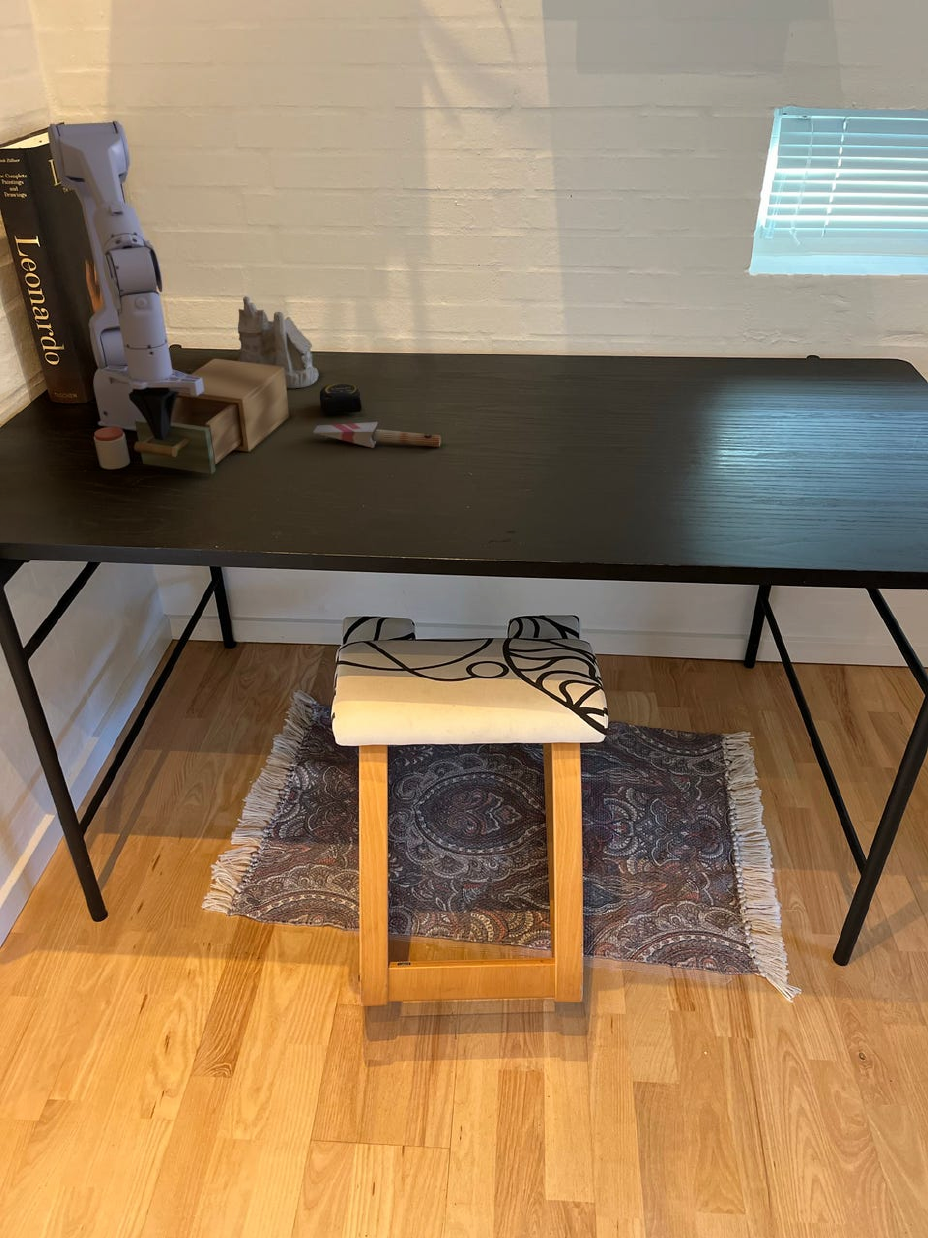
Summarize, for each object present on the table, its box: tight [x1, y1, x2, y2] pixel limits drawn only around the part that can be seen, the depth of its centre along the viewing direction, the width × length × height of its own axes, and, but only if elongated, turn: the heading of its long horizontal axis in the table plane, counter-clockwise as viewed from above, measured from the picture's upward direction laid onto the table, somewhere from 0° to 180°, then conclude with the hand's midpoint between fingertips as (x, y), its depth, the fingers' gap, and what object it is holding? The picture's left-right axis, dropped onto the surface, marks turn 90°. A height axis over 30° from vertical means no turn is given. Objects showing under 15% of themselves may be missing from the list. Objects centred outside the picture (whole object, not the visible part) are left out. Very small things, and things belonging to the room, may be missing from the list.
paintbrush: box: [312, 421, 442, 449], centre depth 149 cm, size 4×3×20 cm
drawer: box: [133, 396, 243, 475], centre depth 141 cm, size 18×11×7 cm, turn 164°
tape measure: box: [319, 382, 363, 415], centre depth 160 cm, size 7×7×4 cm
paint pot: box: [93, 426, 131, 470], centre depth 142 cm, size 4×4×5 cm
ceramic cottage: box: [237, 296, 319, 389], centre depth 172 cm, size 16×16×15 cm
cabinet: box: [177, 358, 290, 453], centre depth 152 cm, size 15×13×9 cm
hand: (162, 436), depth 135 cm, fingers closed
